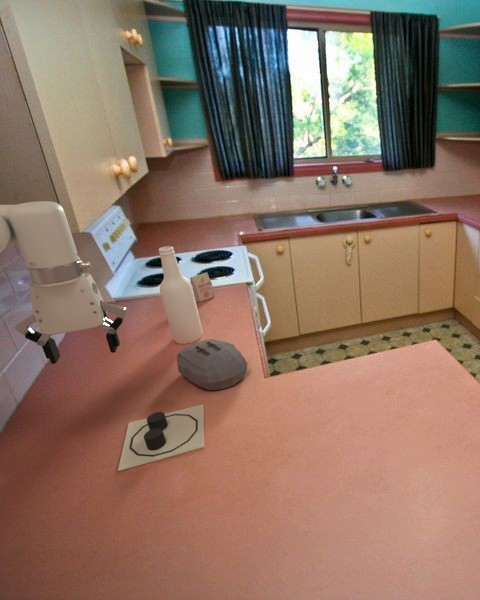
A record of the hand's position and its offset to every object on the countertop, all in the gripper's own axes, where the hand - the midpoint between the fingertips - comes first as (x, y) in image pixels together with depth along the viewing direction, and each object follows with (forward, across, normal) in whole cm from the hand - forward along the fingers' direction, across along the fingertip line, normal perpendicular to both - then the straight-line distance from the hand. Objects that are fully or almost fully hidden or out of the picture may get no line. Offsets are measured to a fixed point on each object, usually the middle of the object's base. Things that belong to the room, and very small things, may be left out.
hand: (86, 354), depth 83 cm
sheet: (+22, -9, +1) cm, 24 cm away
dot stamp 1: (+22, -8, -2) cm, 23 cm away
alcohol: (+22, -13, -47) cm, 54 cm away
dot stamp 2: (+22, -8, +4) cm, 24 cm away
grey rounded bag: (+22, -21, -20) cm, 36 cm away
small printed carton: (+22, -18, -80) cm, 85 cm away
